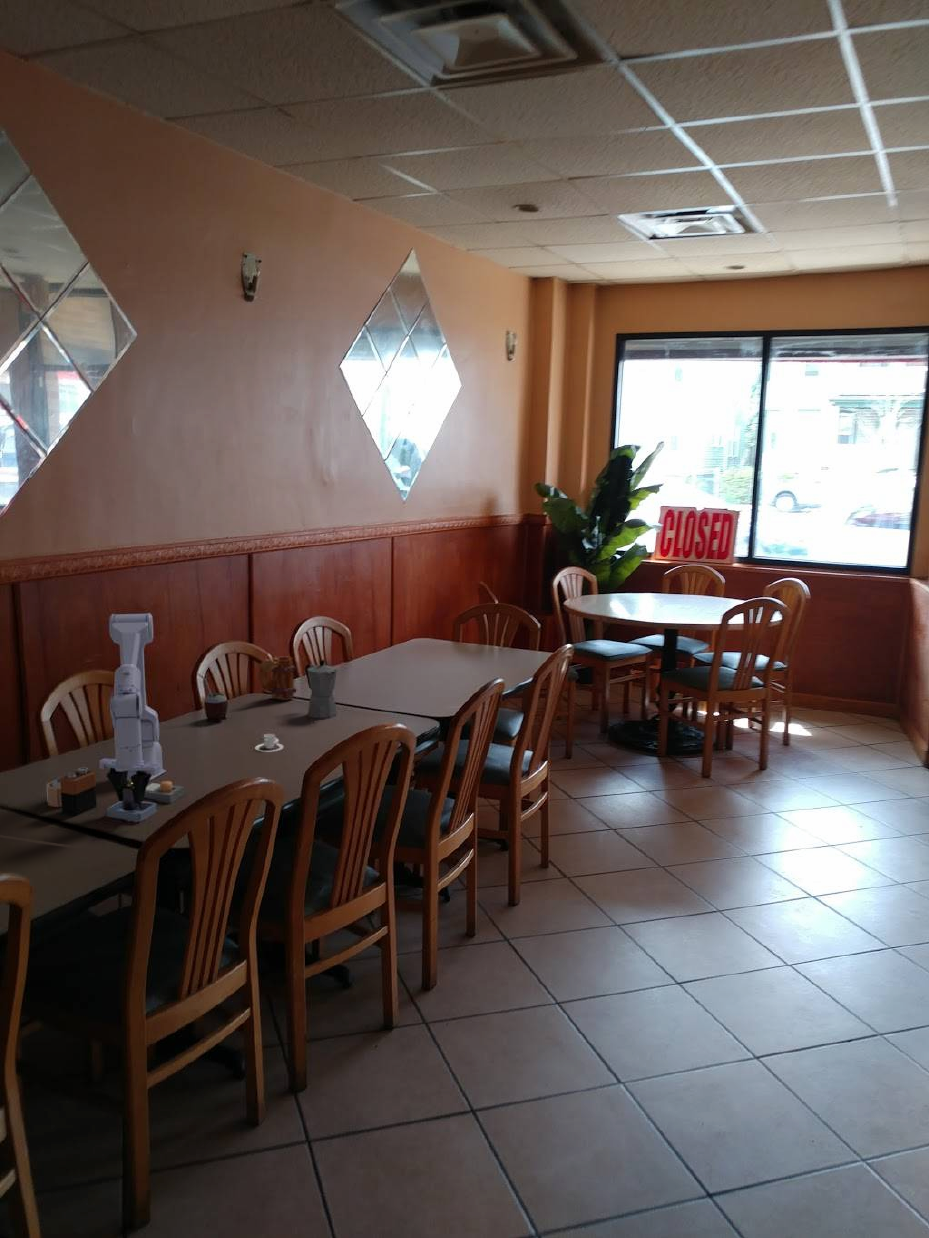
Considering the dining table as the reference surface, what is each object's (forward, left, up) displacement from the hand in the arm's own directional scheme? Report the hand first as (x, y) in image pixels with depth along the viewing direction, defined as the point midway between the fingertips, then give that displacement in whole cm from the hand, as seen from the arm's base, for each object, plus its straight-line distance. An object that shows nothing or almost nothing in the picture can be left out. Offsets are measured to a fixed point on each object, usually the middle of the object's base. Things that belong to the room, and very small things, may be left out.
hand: (131, 800), depth 217 cm
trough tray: (0, 0, -3) cm, 3 cm away
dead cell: (-1, -19, -3) cm, 20 cm away
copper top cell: (0, 0, -2) cm, 2 cm away
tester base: (-12, 0, -3) cm, 12 cm away
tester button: (-12, +2, -3) cm, 12 cm away
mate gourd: (-73, -20, -4) cm, 76 cm away
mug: (-100, -12, -4) cm, 101 cm away
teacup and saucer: (-56, +10, -4) cm, 57 cm away
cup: (-1, -19, -3) cm, 20 cm away
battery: (+2, -12, -4) cm, 13 cm away
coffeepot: (-90, +8, -4) cm, 90 cm away
